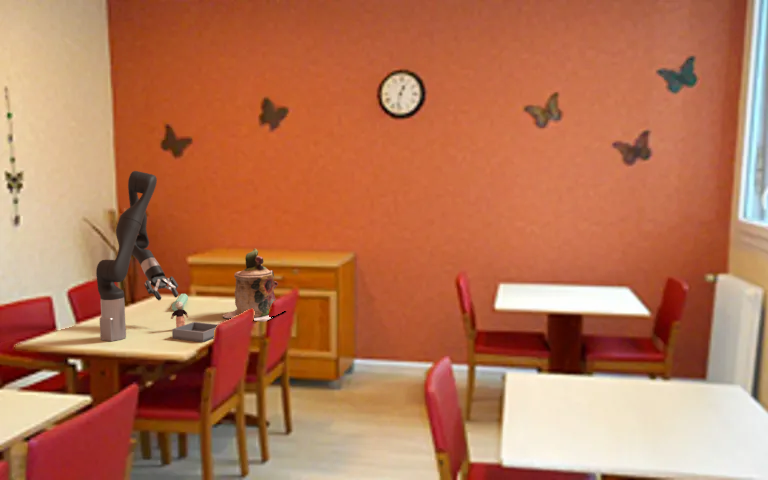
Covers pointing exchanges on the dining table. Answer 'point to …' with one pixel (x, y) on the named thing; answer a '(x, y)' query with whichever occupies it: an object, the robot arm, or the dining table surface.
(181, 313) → the grandmother figurine
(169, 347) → the dining table surface
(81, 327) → the dining table surface
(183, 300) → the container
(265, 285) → the cookie jar
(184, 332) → the tray
